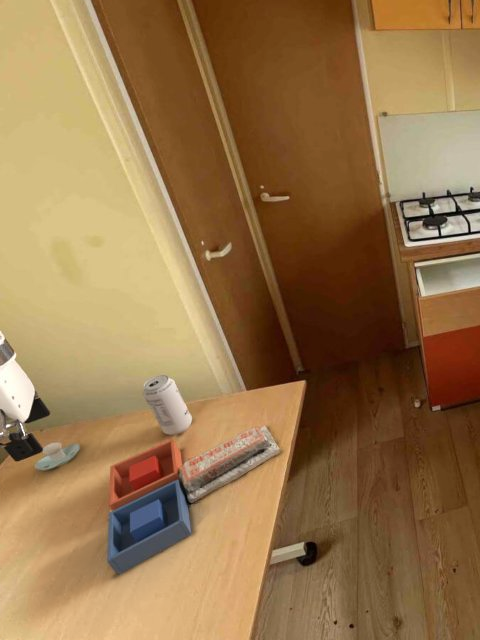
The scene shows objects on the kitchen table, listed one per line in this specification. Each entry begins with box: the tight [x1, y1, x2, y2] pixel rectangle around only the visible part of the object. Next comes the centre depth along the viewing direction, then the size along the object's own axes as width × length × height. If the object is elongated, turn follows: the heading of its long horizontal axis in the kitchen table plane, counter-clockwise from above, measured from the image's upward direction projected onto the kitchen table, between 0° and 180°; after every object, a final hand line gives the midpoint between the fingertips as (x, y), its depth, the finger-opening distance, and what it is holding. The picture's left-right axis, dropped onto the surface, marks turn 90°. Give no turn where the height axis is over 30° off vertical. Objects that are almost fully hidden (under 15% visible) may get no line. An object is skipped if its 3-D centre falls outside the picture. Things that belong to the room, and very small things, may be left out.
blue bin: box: [106, 479, 192, 575], centre depth 83 cm, size 11×11×4 cm
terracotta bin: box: [108, 438, 184, 511], centre depth 92 cm, size 11×11×4 cm
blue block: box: [130, 499, 168, 542], centre depth 82 cm, size 4×4×4 cm
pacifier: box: [34, 442, 80, 471], centre depth 96 cm, size 7×6×6 cm
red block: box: [129, 456, 164, 491], centre depth 91 cm, size 4×4×4 cm
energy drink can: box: [142, 374, 193, 436], centre depth 103 cm, size 6×6×15 cm
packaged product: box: [179, 425, 280, 504], centre depth 96 cm, size 18×5×10 cm
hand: (34, 436), depth 72 cm, fingers open, 9 cm apart
